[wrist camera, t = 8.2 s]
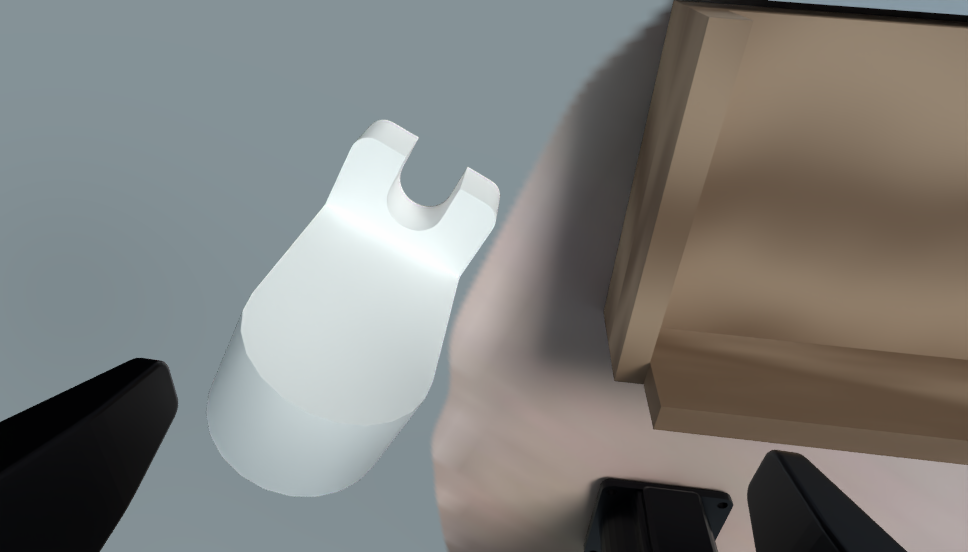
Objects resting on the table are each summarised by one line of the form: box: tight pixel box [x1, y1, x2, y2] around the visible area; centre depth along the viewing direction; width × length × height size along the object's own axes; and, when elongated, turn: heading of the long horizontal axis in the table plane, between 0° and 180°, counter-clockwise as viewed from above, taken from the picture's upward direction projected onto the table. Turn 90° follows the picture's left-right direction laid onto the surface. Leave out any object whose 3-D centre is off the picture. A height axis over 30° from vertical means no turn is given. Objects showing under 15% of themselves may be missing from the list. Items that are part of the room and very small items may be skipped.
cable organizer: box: [206, 120, 500, 497], centre depth 17 cm, size 5×10×10 cm, turn 149°
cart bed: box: [604, 0, 968, 465], centre depth 16 cm, size 11×16×6 cm
